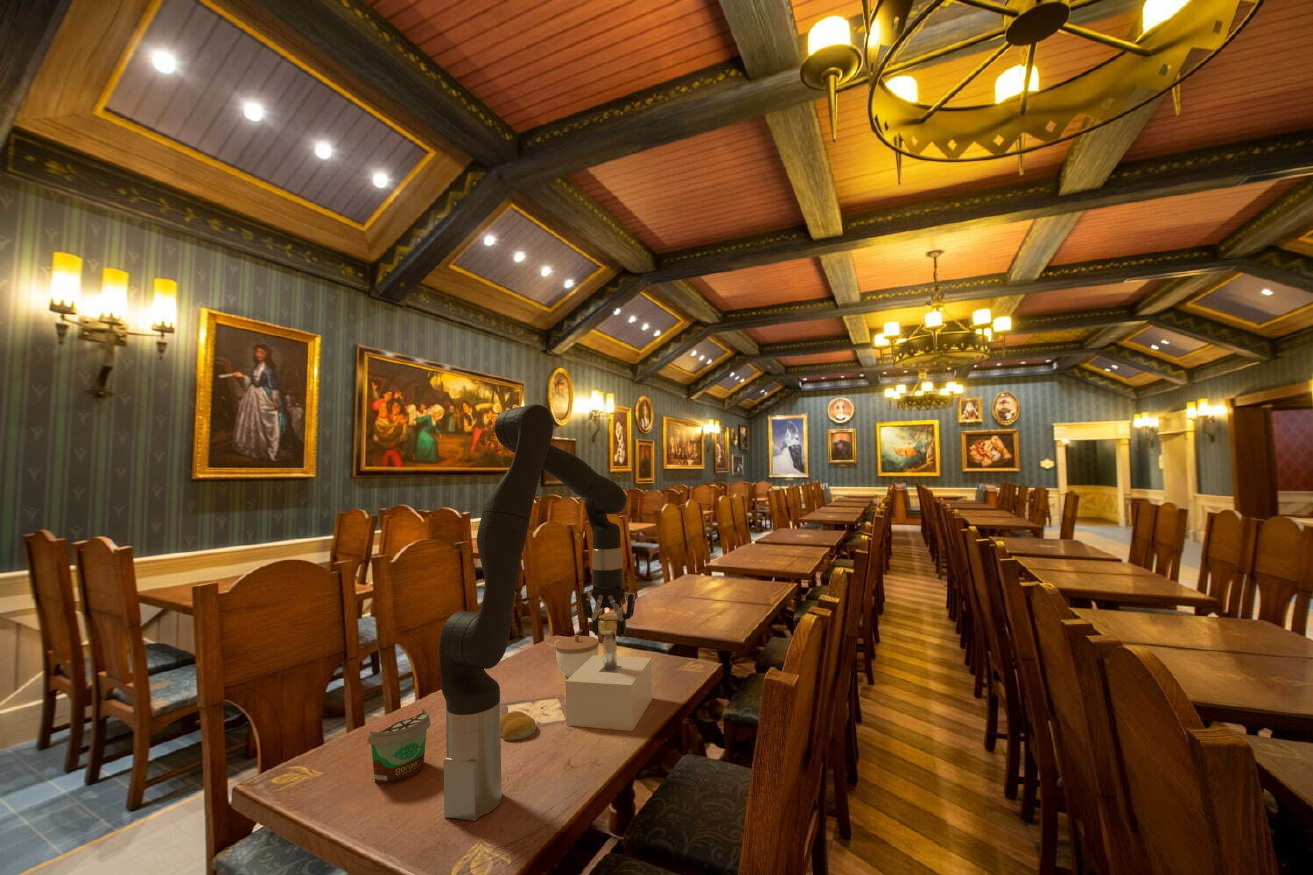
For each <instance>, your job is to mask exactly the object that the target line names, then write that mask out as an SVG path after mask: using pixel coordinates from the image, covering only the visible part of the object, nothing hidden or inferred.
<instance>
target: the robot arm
mask: <svg viewBox="0 0 1313 875" xmlns="http://www.w3.org/2000/svg"><path fill="white" fill-rule="evenodd" d="M493 427H494V429H493V430H494V434H495V438H496V439H497V441H498V442H499V443H500V445H502V446H503V447H504V448H505V449H507V450H508V451H510V452H511V453H514V456H513V458H512V462H511V464H510V466H509V468H508V469H507V471H506V473H505V474H504V475H503V477H502V478H501V480H500V481H499V482H498V484H497V485H496V486H495V487H494V489H493V491H492V492H491V493H490V495H489V497H488V498H487V500H486V501H485V503H484V506H483V510H482V513H481V517H480V520H479V526H478V528H477V534H476V546H477V547H476V548H477V552H478V556H479V560H480V564H481V568H482V571H483V575H484V576H483V577H484V578H483V579H484V590H483V595H482V597H483V598H482V601H481V607H480V610H479V612H477V611H466V610H465V611H458V612H456V613H453V614H452V615H450V617H448V618H447V620H446V621H445V622H444V624H443V626H442V629H441V633H440V636H439V643H438V644H439V645H438V657H439V658H438V660H439V674H440V675H439V678H440V687H441V688H440V689H441V692H442V695H443V697H444V700H445V708H446V709H445V714H446V718H445V720H446V722H445V724H446V726H445V727H446V731H445V732H446V733H445V735H446V736H445V738H446V740H445V741H446V757H445V759H443V814H444V815H443V816H444V817H445V818H449V819H450V818H452V819H458V820H459V819H460V820H467V821H473V822H474V821H475V822H476V821H477V820H478V819H479V818H481V817H482V816H485V815H487V814H489V813H490V812H492V811H493V810H495V809H497V807H498V806H500V804H501V802H502V798H503V795H502V794H503V792H502V791H503V790H502V788H503V787H502V784H503V783H502V746H501V745H502V741H501V738H502V737H501V728H500V719H501V687H500V684H499V683H498V682H497V680H495V679H494V678H493V677H492V676H491V675H489V673H487V671H486V670H490V669H492V668H494V667H495V666H497V665H498V664H499V663H500V662H501V661H502V659H503V657H504V655H505V653H506V650H507V648H508V645H509V640H510V636H511V630H512V629H511V628H512V623H513V622H512V621H513V620H512V619H513V612H514V606H515V605H514V604H515V598H516V597H515V596H516V590H517V589H516V588H517V581H518V576H519V572H520V567H521V561H522V556H523V552H524V548H525V543H526V542H527V541H526V539H527V537H528V536H527V535H528V531H529V526H530V521H531V517H532V516H531V515H532V511H533V505H534V502H535V498H536V495H537V489H538V485H539V481H540V478H541V474H542V470H543V471H545V472H547V473H548V474H550V475H552V476H553V477H554V478H556V479H557V480H558V481H559V482H561V483H562V484H563V485H565V486H566V487H567V488H568V489H570V490H571V491H572V492H573V493H574V494H576V495H577V496H579V497H580V498H584V508H585V511H586V512H585V513H586V515H587V519H588V522H589V526H590V529H591V532H592V533H591V534H592V536H591V537H592V540H591V541H592V554H591V566H592V567H591V569H592V570H591V571H592V574H591V575H592V590H591V591H584V592H582V593H581V595H580V600H581V604H582V609H583V614H584V617H585V618H587V619H590V620H591V621H592V626H591V627H592V633H593V634H594V636H596V637H598V636H601V634H600V633H598V618H600V617H601V613H602V610H603V609H611V610H612V609H613V612H614V613H615V614H616V616H618V619H619V621H618V633H617V634H618V637H619V638H620V637H621V638H622V637H623V636H624V635H626V632H627V621H626V620H630V619H631V618H632V617H633V616H634V613H635V612H634V610H635V604H636V596H637V594H636V592H627V591H626V590H625V588H624V575H623V574H624V572H623V570H624V569H623V566H624V561H623V554H622V543H621V542H622V541H621V540H622V539H621V538H622V537H621V536H622V535H621V527H620V526H619V524H616V523H615V522H611V521H610V520H609V517H608V515H615V514H616V515H617V514H619V513H621V512H622V511H623V510H624V509H625V507H626V505H627V496H626V493H625V491H624V489H623V488H622V487H621V486H620V485H619V484H618V483H616V482H614V481H612V480H610V479H609V478H607V477H605V476H604V475H600V474H599V473H598V472H596V470H594V469H593V468H592V467H591V466H590V465H589V464H587V463H586V461H584V460H583V459H581V458H579V457H578V456H577V455H574V454H572V453H570V452H568V451H566V450H563V449H561V448H559V447H557V446H555V445H553V444H551V443H552V439H553V434H554V420H553V416H552V414H551V412H550V410H549V409H548V408H547V407H546V406H544V405H542V404H527V405H523V406H518V407H513V408H509V409H506V410H503V411H502V412H500V413H499V414H498V415H497V416H496V418H495V421H494V426H493ZM592 599H593V600H594V601H595V603H596V604H595V605H594V608H593V607H592V602H591V600H592ZM623 599H625V602H627V603H626V604H627V605H626V611H625V610H624V608H625V607H624V605H623V603H622V601H623Z"/></svg>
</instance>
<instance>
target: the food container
mask: <svg viewBox="0 0 1313 875" xmlns="http://www.w3.org/2000/svg"><path fill="white" fill-rule="evenodd" d="M431 723H432V722H431V719H430V714H429V713H428V711H427V710H426V709H424V708H422V709H421V713H420V714H417V715H415V716H412V717H410V718H407V719H403V720H400V721H398V722H395V723H393V724H392V725H390V726H388V727H387V728H385V729H383V730H381V731H372V730H370V731H369V734H368V738H367V744H369V745H370V747H371V757H372V767H373V777H374V783H375V784H378V785H393V784H398V783H402V782H405V781H408V780H410V779H412V778H414V777H416V776H417V775H418V774H420V773H421V772H422V770H423V769H424V765H425V752H426V744H427V743H426V741H427V731H428V729H429V728H430V726H431Z"/></svg>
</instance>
